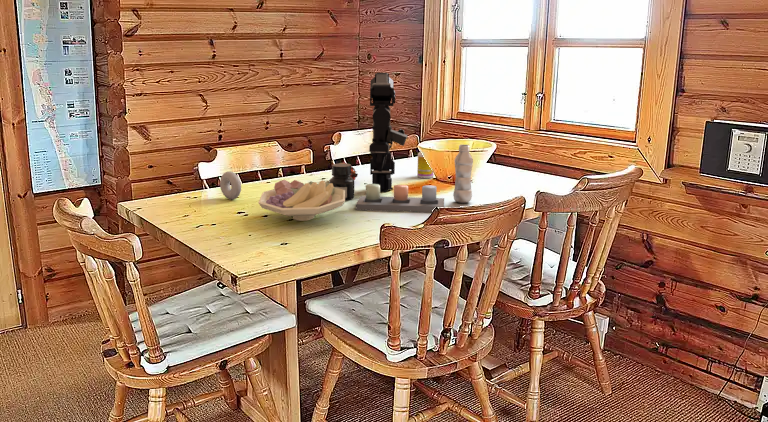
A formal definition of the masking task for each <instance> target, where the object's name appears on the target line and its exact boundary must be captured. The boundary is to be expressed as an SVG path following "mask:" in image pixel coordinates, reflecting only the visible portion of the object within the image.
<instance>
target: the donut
mask: <svg viewBox="0 0 768 422" xmlns="http://www.w3.org/2000/svg"><path fill="white" fill-rule="evenodd" d="M219 186H220V190H221V193H222V195H223V196H224V197H225V198H226V199H228V200H236V199H237V198H238V197H239V196H240V194H241V191H242V183H241V180H240V178H239V176H238V175H237V174H236V173H235V172H233V171H226V172H224V173H222V175H221V177H220V180H219Z"/></svg>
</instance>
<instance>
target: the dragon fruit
mask: <svg viewBox="0 0 768 422" xmlns="http://www.w3.org/2000/svg"><path fill="white" fill-rule="evenodd" d="M341 163H345V164H348V163H347V162H341ZM358 175H359V174H358V173H357V171H356V169H355V167H353V166H352V165H351V176H350V177H352V178H353V179H354V181H355V180H356V178H357V177H358Z"/></svg>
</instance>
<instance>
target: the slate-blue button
mask: <svg viewBox="0 0 768 422" xmlns="http://www.w3.org/2000/svg"><path fill="white" fill-rule="evenodd" d="M437 190H438V189H437V186H436V185H430V184H429V185H428V184H427V185H423V186H422V187H421V198H422V200H423V201H436V198H437Z"/></svg>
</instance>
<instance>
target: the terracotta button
mask: <svg viewBox="0 0 768 422" xmlns="http://www.w3.org/2000/svg"><path fill="white" fill-rule="evenodd" d="M393 197H394V200H399V201H403V200H408V197H409V185H407V184H394V185H393Z"/></svg>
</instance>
